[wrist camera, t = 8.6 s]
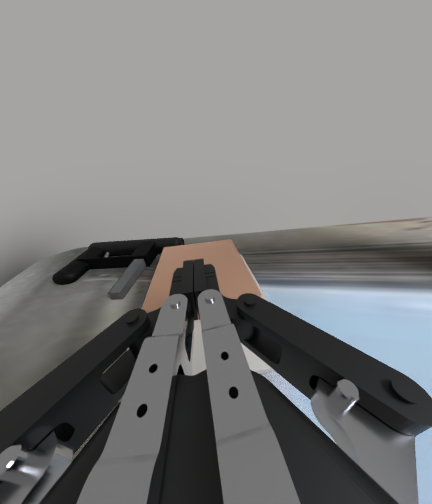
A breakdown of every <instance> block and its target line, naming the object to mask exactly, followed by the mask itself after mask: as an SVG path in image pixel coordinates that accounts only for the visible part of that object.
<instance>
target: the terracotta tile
mask: <svg viewBox="0 0 432 504" xmlns="http://www.w3.org/2000/svg"><path fill="white" fill-rule="evenodd" d="M202 258H203V259H204V265H206V264H212V265H213V266H214V267H215V271H216V276H217V280H218V285H219V290H220V292H221V294H222V295H223V296H225V297H227V298H231V299H238V297H239V296H240V295H242V294H245V293H252V294H255V295H257V296H259V297H261V292H260V290H259V289H258V287H257V285H256V283H255V281H254V280H253V278H252V276H251V274H250V272H249V271H248V269H247V267H246V265H245V263H244V261H243V260H242V258H241V256H240V254H239V252H238V251H237V249H236V247H235V245H234V243H233V242H232V240H231V239H229V240H220V241H212V242H204V243H196V244H188V245H179V246H171V247H164V249H163V251H162V254H161V257H160V260H159V263H158V265H157V268H156V271H155V274H154V277H153V279H152V282H151V285H150V288H149V291H148V293H147V296H146V299H145V302H144V305H143V307H142V309H143V310H145V311H146V312H147V313H149V312H152V311H154V310H157V309H159V308H160V307H162V304H163V302H164V300H165V299H166V298H168V297H169V293H170V288H171V283H172V278H173V273H174V271H175V270H176V269H177V268H183V261H186V260H194V259H202ZM198 320H199V316H198Z"/></svg>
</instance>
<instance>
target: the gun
mask: <svg viewBox="0 0 432 504" xmlns="http://www.w3.org/2000/svg"><path fill="white" fill-rule="evenodd" d="M179 245H184V240H183V238H177V237H175V238H160V239H144V240H130V241H129V240H128V241H113V242H100V243H92V244H91V245H90V246H89V247H88V250H86V251H85V252H84V253H82V254H81V255H80V256H78V257H77V258H76V259H74V260H73V261H72V262H70V263H69V264H68V265H66V266H65V267H64V268H62V269H61V270H59V271H58V272H57V273H55V274H54V275H53V278H52V279H53V281H54V282H55V283H57V284H60V285H64V284H70V283H73V282H75V281H76V280H78V279H79V278H80V277H81V276H82V275H83V274H84V273H85V272H87V271H88V270H89V269H106V268H125V267H128V268H127V269H126V271H125V272H124V273H123V274H122V276H121V277H120V278H119V280H118V281H117V282H116V283H115V285H114V286H113V287H112V289H111V290H110V291H109V292H108V295H109V296H110V298H111V299H123V298H124V297H125V296H126V294H127V293H128V291H129V290H130V289H131V287H132V286H133V284H134V283H135V282H136V280H137V279H138V278H139V276H140V275H141V273H142V272H143V271H144V269H145V268H146V266H150V265H151V264H152V262H153V261H154V259H155V258H156V256H157V255H158V253H162V251H163V249H164V247H171V246H179ZM115 255H131V256H118V257H108V256H115ZM103 256H104V257H103Z"/></svg>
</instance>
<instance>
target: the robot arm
mask: <svg viewBox="0 0 432 504" xmlns="http://www.w3.org/2000/svg"><path fill="white" fill-rule="evenodd" d="M198 316H199V320H200V322H201V329H202V330H201V331H202V339H203V347H204V355H205V362H206V370H204V371H202V372H200V373H198V374H196V375H193V376H192V356H193V343H194V320H198ZM241 343H242V344H243V345H244V346H246V347H247V348H248V349H249V350H250V351H252V352H253V353H254V354H255V355H256V356H258V357H259V358H260V359H261V360H263V361H264V362H265V363H266V364H267V365H269V366H270V367H271V368H272V369H274V370H275V371H276V372H277V373H278V374H280V375H281V376H282V377H283V378H284V379H286V380H287V381H288V382H289V383H291V384H292V385H293V386H294V387H295V388H297V389H298V390H299V391H300V392H302V393H303V394H304V395H305V396H306V397H308V398H309V399H310V400H311V406H312V410H313V412H314V415H315V417H316V418H317V420H318V421H319V423H320V424H321V425H322V427H323V428H324V429H325V430H326V431H327V432H328V433H329V434H330V435H331V437H332V438H333V439H334V441H335V442H336V444H335V443H334V442H333V441H332V440H331V439H330V438H329V437H328V436H327V435H326V434H325V433H324V432H323V431H322V430H321V429H320V428H318V427H317V426H316V425H315V424H314V423H313V422H312V421H311V420H310V419H309V418H308V417H307V416H306V415H305V414H304V413H303V412H302V411H300V410H299V409H298V408H297V407H296V406H295V405H294V404H293V403H292V402H291V401H290V400H289V399H288V398H287V397H286V396H285V395H284V394H282V393H281V392H280V391H279V390H278V389H277V388H276V387H275V386H274V385H273V384H272V383H271V382H270V381H269V380H267V379H266V378H265V377H263V376H262V375H260V374H259V373H257V372H255V371H252V370H250V368H249V365H248V362H247V360H246V357H245V354H244V351H243V348H242V345H241ZM127 348H129V349H128V350H127V351H126V352H125V353H124V354H123V355H122V356H121V357H120V358H119V359H118V360H117V361H116V362H115V363H114V364H113V365H112V366H111V367H110V368H109V369H108V370H107V371H106V372H105V373H104V374H102V373H103V372H104V371H105V370H106V369H107V368H108V367H109V366H110V365H111V364H112V363H113V362H114V361H115V360H116V359H117V358H118V357H119V356H120V355H121V354H122V353H123V352H124V351H125V350H126V349H127ZM123 395H124V396H123ZM122 397H123V399H122V401H121V403H120V404H119V405H118V406H117V407H116V408H115V409H114V410H113V412H112V413H111V414H110V415H109V416H108V418H107V419H106V420H105V421H104V423H103V424H102V425H101V426H100V428H99V429H98V430H97V431H96V433H95V434H94V435H93V436H92V438H91V439H90V440H89V441H88V443H87V444H86V445H85V446H84V448H83V449H82V450H81V451H80V453H79V454H78V455H77V456H76V458H75V459H74V460H73V461H72V457H73V455H74V453H75V452H76V451H77V450H78V449H79V447H80V446H81V445H82V444H83V443H84V442H85V440H86V439H87V438H88V437H89V436H90V434H91V433H92V432H93V431H94V430H95V428H96V427H97V426H98V425H99V424H100V423H101V421H102V420H103V419H104V418H105V417H106V415H107V414H108V413H109V412H110V411H111V410H112V408H113V407H114V406H115V405H116V404H117V402H118V401H119V400H120V399H121V398H122ZM431 427H432V398H431V397H430V396H429V395H428V393H427V392H426V391H425V390H424V389H423V388H422V387H421V386H419V385H418V384H417V383H416V382H415V381H413V380H412V379H410V378H409V377H407V376H406V375H404V374H402V373H401V372H399V371H397V370H395V369H393V368H391V367H389V366H388V365H386V364H384V363H382V362H380V361H378V360H376V359H374V358H373V357H371V356H369V355H367V354H365V353H363V352H361V351H360V350H358V349H356V348H354V347H352V346H350V345H348V344H347V343H345V342H343V341H341V340H339V339H337V338H335V337H334V336H332V335H330V334H328V333H326V332H324V331H322V330H320V329H319V328H317V327H315V326H313V325H311V324H309V323H307V322H306V321H304V320H302V319H300V318H298V317H296V316H294V315H293V314H291V313H289V312H287V311H285V310H283V309H281V308H280V307H278V306H276V305H274V304H272V303H270V302H268V301H267V300H265V299H263V298H261V297H259V296H257V295H255V294H252V293H245V294H242V295H240V296H239V297H238V299H231V298H227V297H225V296H223V295H222V294H221V292H220V290H219V285H218V280H217V276H216V271H215V267H214V266H213V265H212V264H206V265H204V259H203V258H202V259H194V260H186V261H183V268H177V269H176V270H175V271H174V273H173V278H172V283H171V288H170V293H169V297H168V298H166V299H165V300H164V302H163V304H162V307H160V308H159V309H157V310H154V311H152V312H149V313H147V312H146V311H145V310H143V309H134V310H131V311H129V312H127V313H126V314H124V315H123V316H122V317H120V318H119V319H118V320H117V321H115V322H114V323H113V324H111V325H110V326H109V327H108V328H106V329H105V330H104V331H103V332H101V333H100V334H99V335H97V336H96V337H95V338H94V339H92V340H91V341H90V342H88V343H87V344H86V345H85V346H83V347H82V348H81V349H80V350H78V351H77V352H76V353H74V354H73V355H72V356H71V357H69V358H68V359H67V360H65V361H64V362H63V363H62V364H60V365H59V366H58V367H56V368H55V369H54V370H53V371H51V372H50V373H49V374H48V375H46V376H45V377H44V378H42V379H41V380H40V381H39V382H37V383H36V384H35V385H33V386H32V387H31V388H30V389H28V390H27V391H26V392H24V393H23V394H22V395H21V396H19V397H18V398H17V399H16V400H14V401H13V402H12V403H10V404H9V405H8V406H7V407H5V408H4V409H3V410H1V411H0V504H418V489H417V473H416V457H415V437H416V436H417V435H418V434H420V433H422V432H423V431H425V430H427V429H429V428H431ZM71 461H72V463H71Z"/></svg>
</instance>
